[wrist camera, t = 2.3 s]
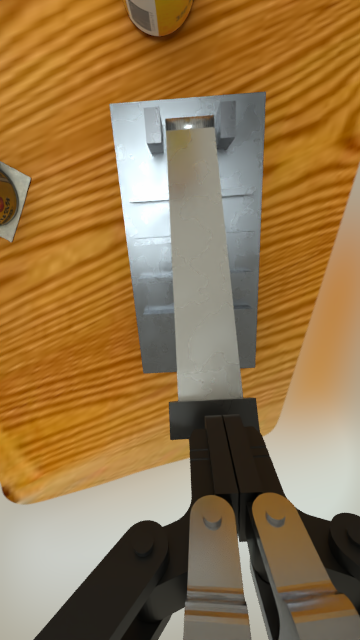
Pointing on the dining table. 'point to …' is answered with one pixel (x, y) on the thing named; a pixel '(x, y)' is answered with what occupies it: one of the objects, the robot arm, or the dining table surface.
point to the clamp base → (154, 214)
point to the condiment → (11, 199)
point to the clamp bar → (201, 283)
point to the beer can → (158, 15)
